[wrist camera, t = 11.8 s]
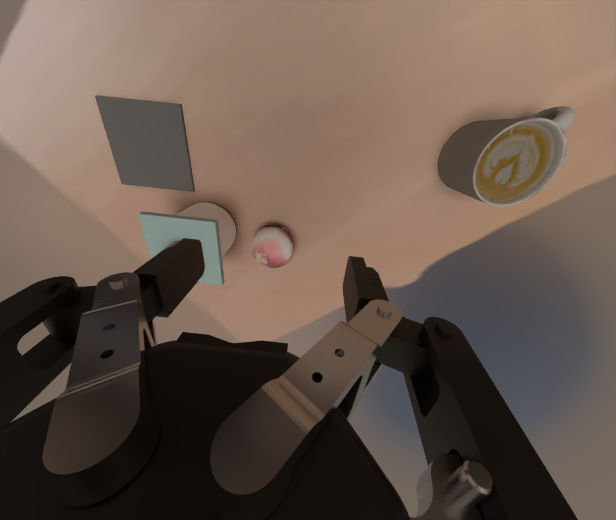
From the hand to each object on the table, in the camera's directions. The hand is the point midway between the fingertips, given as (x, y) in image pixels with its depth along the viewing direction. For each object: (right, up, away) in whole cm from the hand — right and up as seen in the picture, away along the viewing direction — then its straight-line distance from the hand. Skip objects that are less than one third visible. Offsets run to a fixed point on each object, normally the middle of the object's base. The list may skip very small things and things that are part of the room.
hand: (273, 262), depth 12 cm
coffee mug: (+29, +17, +23) cm, 41 cm away
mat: (-25, +19, +26) cm, 40 cm away
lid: (-17, +2, +23) cm, 29 cm away
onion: (-4, +4, +33) cm, 33 cm away
